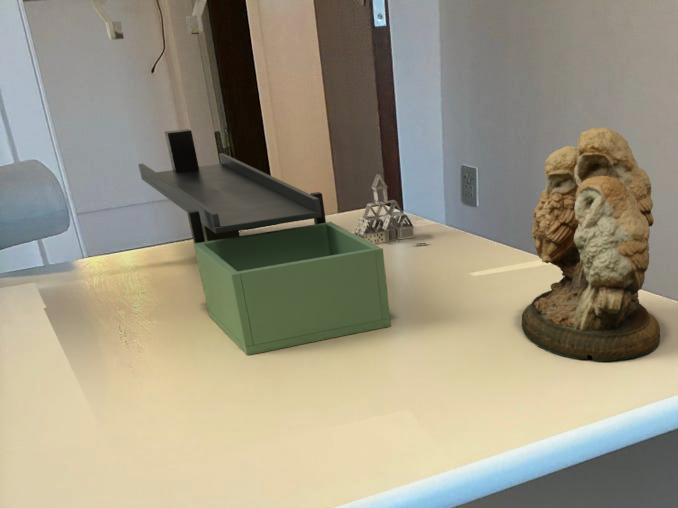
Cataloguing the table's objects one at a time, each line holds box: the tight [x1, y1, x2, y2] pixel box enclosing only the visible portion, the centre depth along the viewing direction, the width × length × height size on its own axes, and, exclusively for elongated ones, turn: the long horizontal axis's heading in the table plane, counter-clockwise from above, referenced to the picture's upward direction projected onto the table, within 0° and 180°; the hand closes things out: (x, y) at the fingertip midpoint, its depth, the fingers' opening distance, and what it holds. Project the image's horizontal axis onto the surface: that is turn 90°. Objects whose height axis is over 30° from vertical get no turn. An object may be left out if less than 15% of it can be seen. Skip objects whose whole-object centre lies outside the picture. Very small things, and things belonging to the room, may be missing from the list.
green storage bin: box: [193, 221, 392, 356], centre depth 95 cm, size 15×15×7 cm
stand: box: [186, 191, 327, 309], centre depth 108 cm, size 14×21×10 cm, turn 27°
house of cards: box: [352, 173, 429, 247], centre depth 120 cm, size 9×9×8 cm
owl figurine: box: [521, 126, 661, 362], centre depth 85 cm, size 18×12×17 cm, turn 21°
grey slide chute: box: [138, 128, 322, 234], centre depth 108 cm, size 11×38×5 cm, turn 27°
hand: (156, 36), depth 114 cm, fingers open, 8 cm apart
